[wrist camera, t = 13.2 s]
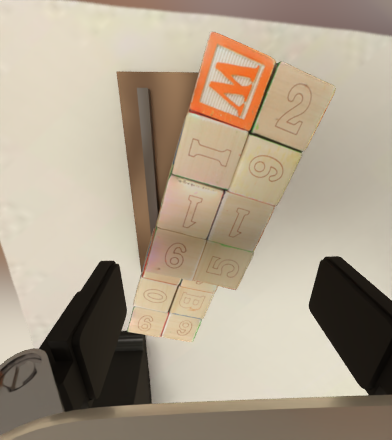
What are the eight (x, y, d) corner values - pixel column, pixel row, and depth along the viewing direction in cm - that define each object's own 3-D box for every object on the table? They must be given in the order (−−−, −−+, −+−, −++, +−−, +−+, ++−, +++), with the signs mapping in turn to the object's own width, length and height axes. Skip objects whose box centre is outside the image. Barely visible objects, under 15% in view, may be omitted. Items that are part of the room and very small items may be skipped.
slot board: (259, 75, 22) (268, 69, 20) (240, 264, 31) (245, 275, 29) (119, 74, 21) (111, 67, 19) (142, 268, 30) (139, 279, 28)
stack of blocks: (188, 279, 29) (193, 379, 17) (141, 268, 27) (114, 367, 16) (256, 106, 21) (343, 84, 10) (194, 82, 20) (212, 23, 8)
